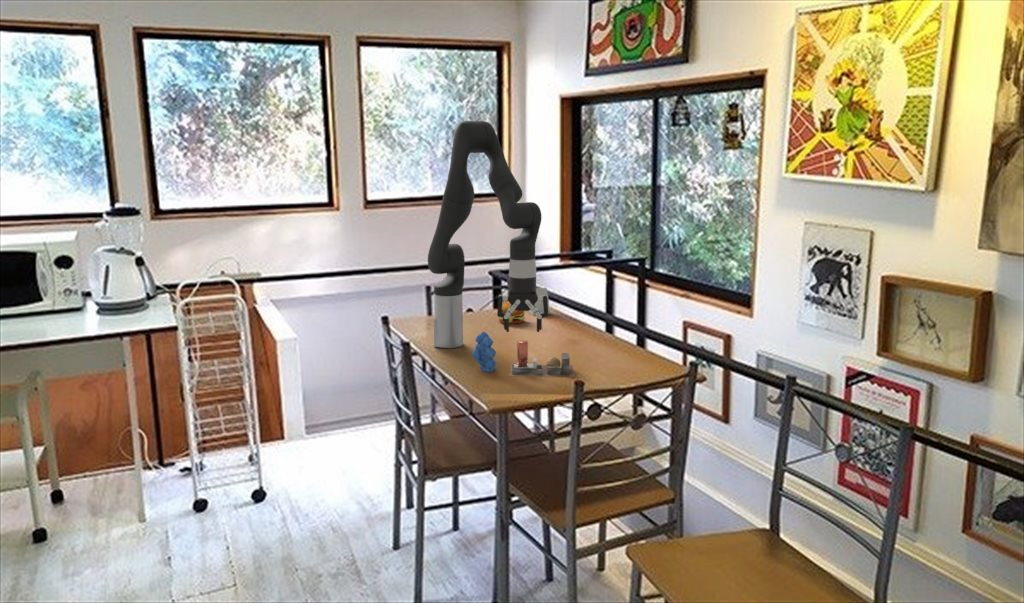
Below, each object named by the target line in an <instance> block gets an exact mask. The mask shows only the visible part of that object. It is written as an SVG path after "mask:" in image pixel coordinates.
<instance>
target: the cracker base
mask: <svg viewBox="0 0 1024 603" xmlns="http://www.w3.org/2000/svg"><path fill="white" fill-rule="evenodd" d="M570 359H571V358H570V353H569V352H561V361H560V366H547V365H546V364H544V365H543V364H542V363H541V364H540V363H539V364H537V370H514V364H515V363H513V364H510V371H509V377H520V378H521V377H522V378H523V377H524V378H527V377H531V378H532V377H533V378H534V377H535V378H536V377H539V378H541V377H542V378H543V377H544V378H551V377H552V378H575V373H574V367H573V365H570Z"/></svg>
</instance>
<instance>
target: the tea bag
mask: <svg viewBox="0 0 1024 603" xmlns="http://www.w3.org/2000/svg"><path fill="white" fill-rule="evenodd" d="M547 289H548V288H547V287H542V288H541V287H539V288H536V294H537V296H543V295H547V301H548V315H549V313H550V303H549V302H550V300H549V294H548V290H547ZM534 305H535V306H536V307H537V309H538V310H539V312H540V313H542V312H544V307H543V303H541V302H540V300H537V302H536V303H535V304H534ZM528 314H529V315H531V316H533V317H534V316H536V315H535V314H534V313H533V312H532V310H529V311H528Z"/></svg>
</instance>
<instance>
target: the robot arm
mask: <svg viewBox="0 0 1024 603" xmlns="http://www.w3.org/2000/svg"><path fill="white" fill-rule="evenodd" d="M482 153H483V154H484V156H486V158H487V159H488V160H489V171H488V183H489V184H490V188H491V189H492V191H493V192H494V195H495V196H496V198H497V200H498V202H499V206H500V211H501V215H502V220H503V223H504V224H505V225H506V226H507V227H508V228H509V229H512V230H517V229H522V230H521V233H520V234H519V235H518V236H515V237H513V238H511V239H510V241H509V265H508V278H509V279H508V280H509V281H508V285H509V286H508V289H509V290H508V292H509V293H508V295H503V294H499V295H498V297H497V311H496V312H497V314H496V315H497V317H498V318H499V317H502V318H503V319H504V323H503V329H504V331H506V333H509V332H510V324H509V318H508V317H509V316H510V315H511V314H512V312H513V311H514V310H517V311H522V310H524V311H525V312H529V310H532V312H533V313H534V314H535V315H534V316H535V317H536V333H540V331H541V330H542V329H543V328H542V324H543V322H542V321H543V320H542V319H544V318H548V316H549V314H548V301H547V295H543V296H537V294H536V289H537V263H536V243H537V239H538V237H539V236H538V235H539V232H540V228H541V223H542V217H543V216H542V212H541V211H542V210H541V207H540V206H539V205H538V204H537V203H536V202H533V201H532V202H531V201H526V202H520V200H521V199H522V198H523V190H522V188H521V186H520V185H519V183H518V180H517V179H516V178H515V176H514V174H513V172H512V170H511V169H510V167H509V164H508V163H507V160H506V157H505V154H504V152H503V148H502V146H501V143H500V141H499V138H498V136H497V133H496V131H495V129H494V126H492V124H491V123H490V122H488V121H486V120H461V121H460V122H459V123H457V125H456V128H455V130H454V135H453V141H452V147H451V156H450V165H449V170H448V175H447V178H446V183H445V188H444V192H443V196H442V200H441V207H440V213H439V216H438V220H437V224H436V228H435V231H434V234H433V237H432V240H431V244H430V247H429V249H428V254H427V266H428V269H429V271H430V272H431V273H433V275H434V274H435V275H442V274H443V275H444V274H446V276H445V277H444V278H443V279H441V281H438V282H437V283H436V284H434V286H433V298H434V299H433V306H434V307H433V309H434V310H433V311H434V317H433V346H434V347H435V348H436V347H437V348H441V349H442V348H443V349H453V348H455V349H456V348H459V347H462V346H464V321H463V320H464V316H463V312H464V311H463V307H464V306H463V305H464V304H463V300H464V299H463V288H464V284H465V258H466V257H465V254H464V250H463V247H462V246H461V245H460V244H459V243H450V242H451V239H452V238H453V236H455V233H456V232H457V231H458V230H459V229H460V228H461V227H462V226H463V224H464V223H465V222H466V221H467V219H468V218H469V216H470V215H471V212H472V208H473V204H474V200H475V189H474V185H473V183H472V180H471V178H470V175H469V173H468V160H469V156H470V154H482ZM506 300H508V301H509V302H510V304H511V306H510V307H509V309H508V310H507V311H506V313H503V312H502V303H505V301H506ZM537 300H540V302H541V303H543V307H544V312H542V313H540V312H539V310H538V309H537V307H536V306H535V305H534V304H535V303H536V302H537Z"/></svg>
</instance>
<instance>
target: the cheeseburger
mask: <svg viewBox="0 0 1024 603" xmlns="http://www.w3.org/2000/svg"><path fill="white" fill-rule="evenodd" d="M510 306H511V304H510V302H509V301H508V300H506V301H505V303H502V312H503V313H506V311H507V310H508V309H509V307H510ZM525 314H526V311H524V310H522V311H517V310H514V311H513V312H512V314H511V315H510V316H509V317H508V318H509V325H514V324H515V325H516V324H520V323H523V322H524V320H525ZM498 321H499V322H500V323H503V324H504V319H503V318H502V317H498Z"/></svg>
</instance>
